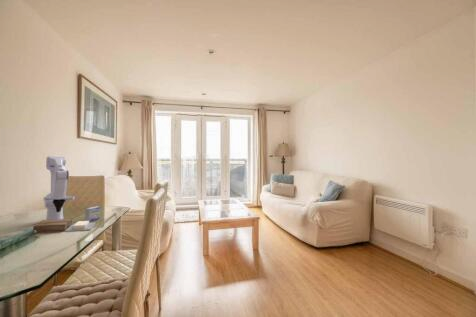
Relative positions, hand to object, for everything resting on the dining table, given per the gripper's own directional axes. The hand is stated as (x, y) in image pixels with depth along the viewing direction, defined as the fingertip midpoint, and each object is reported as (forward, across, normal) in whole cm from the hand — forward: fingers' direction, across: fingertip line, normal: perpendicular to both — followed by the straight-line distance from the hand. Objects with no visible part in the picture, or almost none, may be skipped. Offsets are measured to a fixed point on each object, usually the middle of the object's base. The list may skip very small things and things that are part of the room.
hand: (58, 211), depth 125 cm
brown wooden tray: (+9, -1, -4) cm, 10 cm away
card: (+7, +13, -4) cm, 15 cm away
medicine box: (+10, +16, +12) cm, 22 cm away
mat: (+9, +13, -4) cm, 17 cm away
